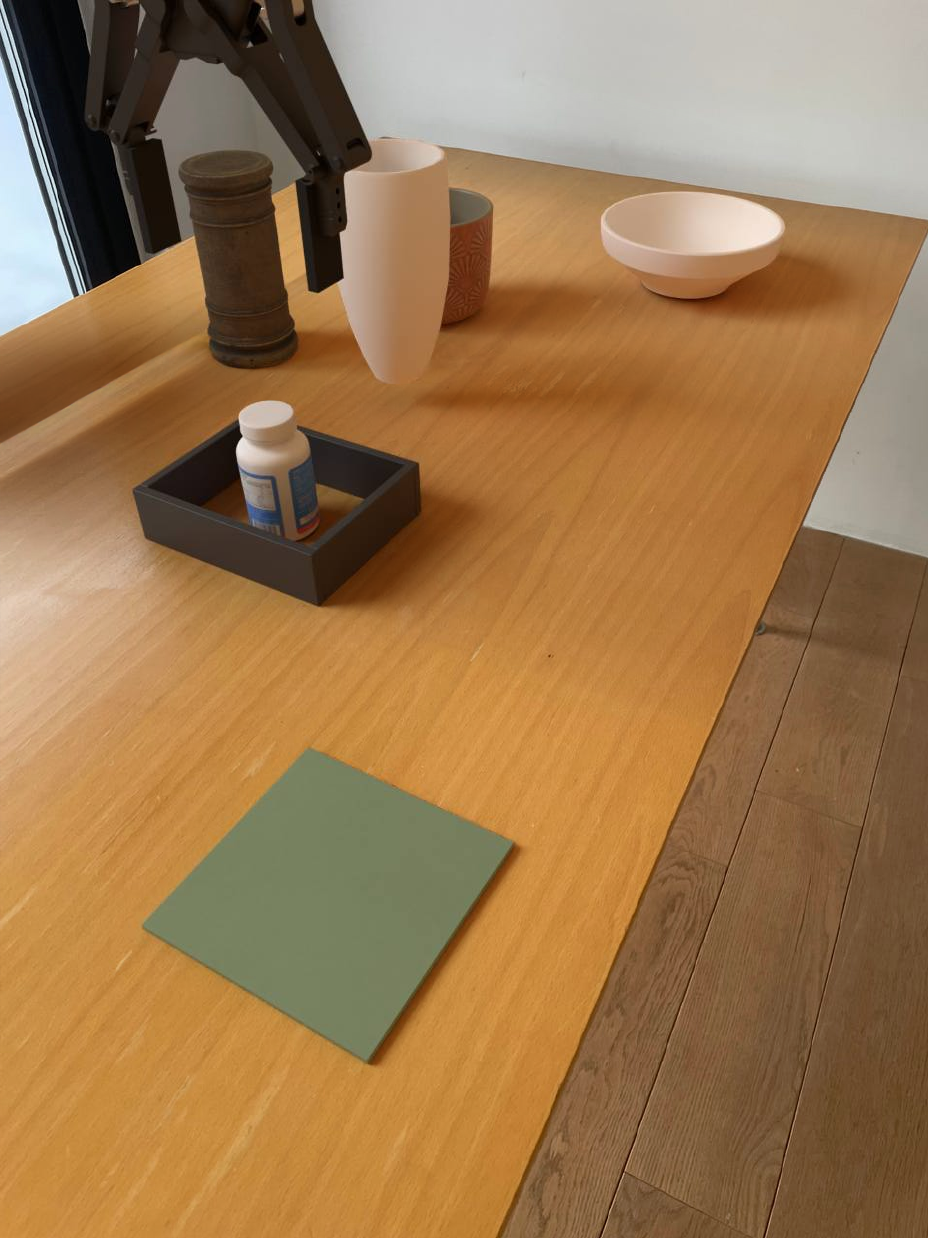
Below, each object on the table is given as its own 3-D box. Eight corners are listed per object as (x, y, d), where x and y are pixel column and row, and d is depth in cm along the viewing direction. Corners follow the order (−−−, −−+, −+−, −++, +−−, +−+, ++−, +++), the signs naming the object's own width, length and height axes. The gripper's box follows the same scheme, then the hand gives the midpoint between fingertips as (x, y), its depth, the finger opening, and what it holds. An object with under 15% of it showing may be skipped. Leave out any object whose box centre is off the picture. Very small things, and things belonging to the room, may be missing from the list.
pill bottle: (310, 499, 81) (296, 389, 75) (328, 535, 77) (314, 422, 71) (243, 513, 80) (222, 403, 73) (258, 551, 76) (237, 438, 70)
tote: (144, 538, 77) (131, 489, 75) (258, 457, 86) (250, 410, 83) (318, 606, 71) (311, 555, 68) (422, 511, 80) (419, 462, 77)
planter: (376, 335, 104) (368, 229, 97) (380, 288, 114) (372, 187, 107) (496, 332, 104) (496, 225, 97) (489, 285, 114) (490, 184, 107)
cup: (380, 441, 88) (360, 184, 74) (325, 394, 95) (297, 151, 81) (479, 408, 92) (477, 159, 78) (419, 365, 99) (408, 129, 85)
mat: (142, 929, 51) (140, 924, 51) (309, 751, 61) (308, 746, 60) (368, 1065, 46) (367, 1060, 46) (514, 846, 55) (514, 842, 55)
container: (285, 371, 98) (258, 178, 87) (197, 366, 99) (158, 175, 88) (310, 332, 105) (288, 148, 93) (227, 327, 106) (195, 145, 95)
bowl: (560, 284, 114) (563, 219, 109) (672, 240, 124) (679, 179, 119) (698, 339, 103) (708, 269, 98) (809, 286, 112) (823, 221, 108)
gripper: (420, -147, 49) (435, 280, 63) (60, -155, 59) (141, 216, 73) (328, -135, 44) (366, 325, 58) (-47, -146, 54) (61, 250, 68)
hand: (241, 265), depth 65 cm, fingers open, 13 cm apart
